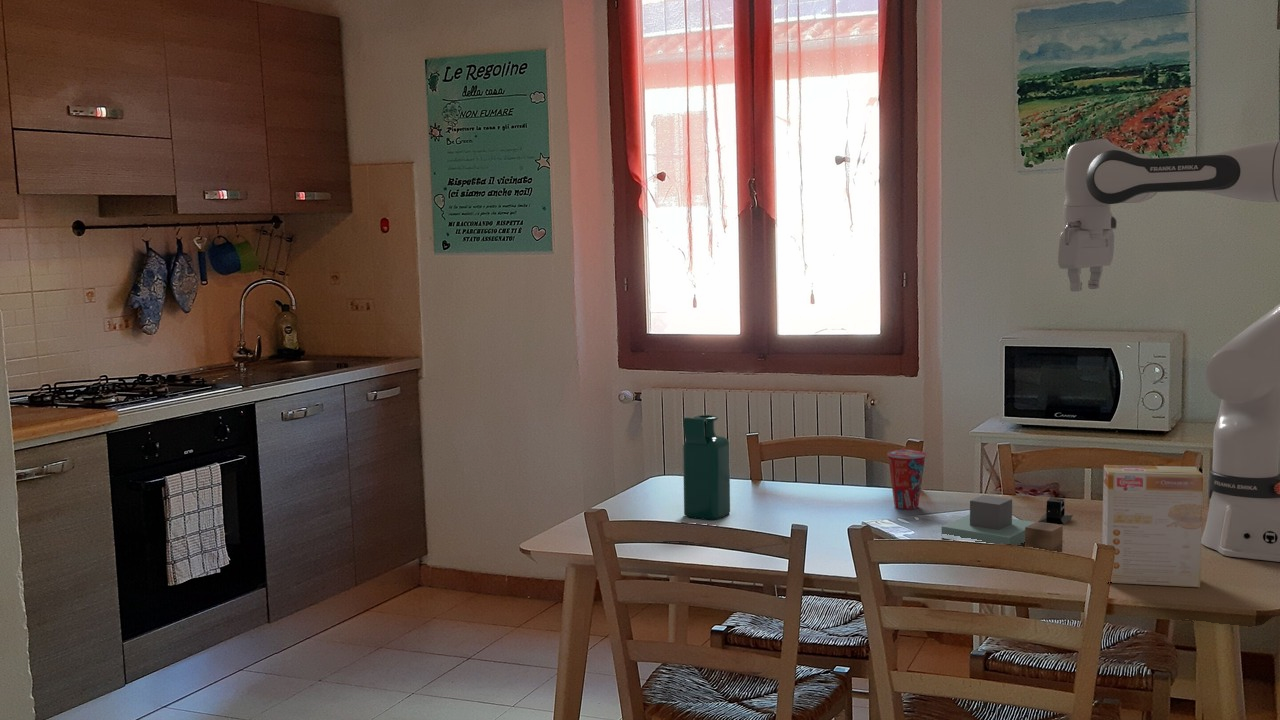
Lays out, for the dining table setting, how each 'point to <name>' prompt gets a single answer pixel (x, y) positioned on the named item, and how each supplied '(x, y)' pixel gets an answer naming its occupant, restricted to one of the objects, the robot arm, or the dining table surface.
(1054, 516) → the black rectangular block
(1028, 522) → the base slab
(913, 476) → the cup
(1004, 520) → the charcoal block
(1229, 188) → the robot arm
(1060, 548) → the walnut block
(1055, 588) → the dining table surface
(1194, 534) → the coffeecake box
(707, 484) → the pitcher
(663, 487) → the dining table surface
